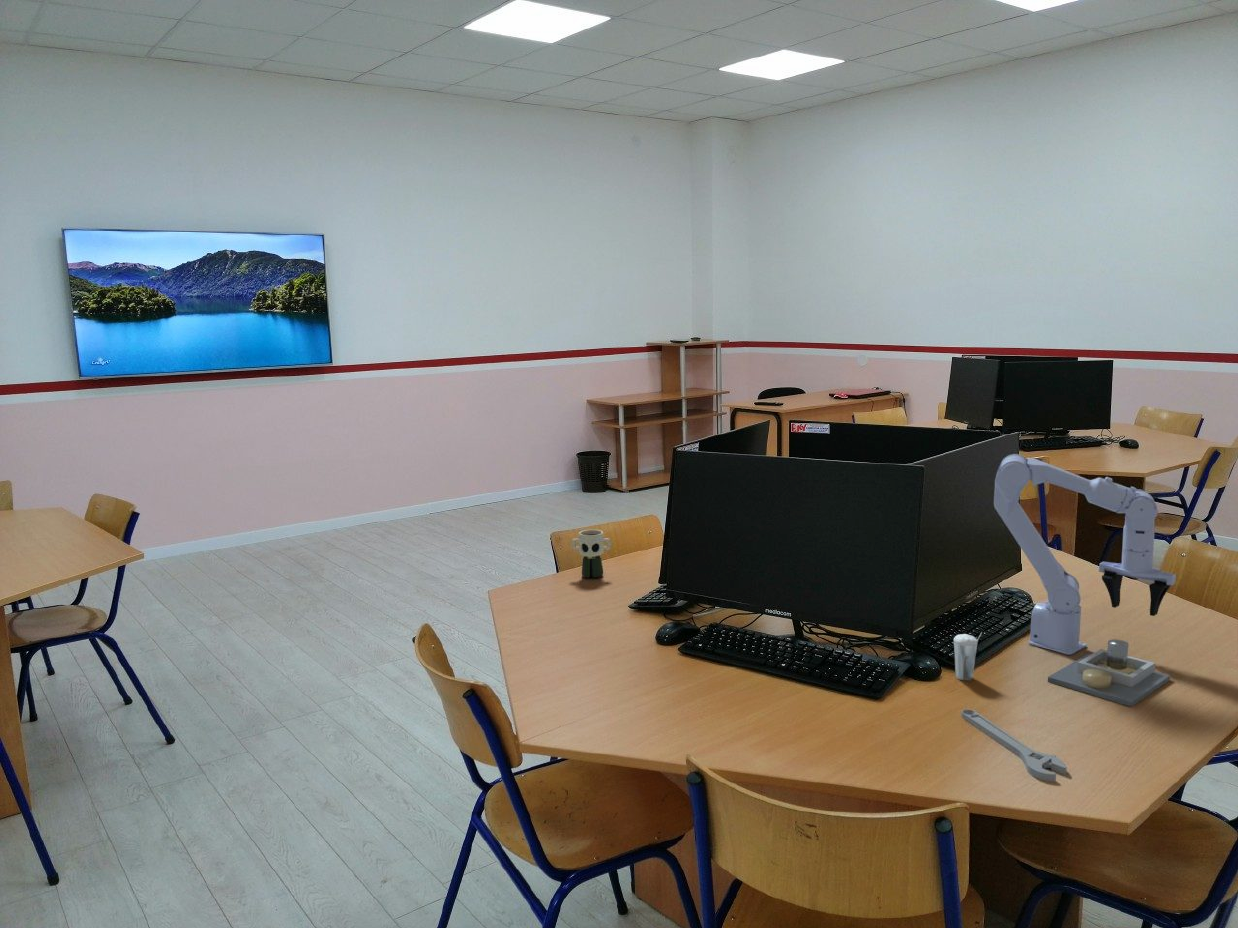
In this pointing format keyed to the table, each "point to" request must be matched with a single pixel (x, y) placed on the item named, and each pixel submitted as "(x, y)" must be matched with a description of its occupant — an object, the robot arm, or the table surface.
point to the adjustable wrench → (1018, 748)
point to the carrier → (1110, 679)
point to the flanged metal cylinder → (1117, 657)
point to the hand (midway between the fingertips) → (1134, 610)
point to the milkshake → (965, 656)
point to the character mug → (591, 551)
